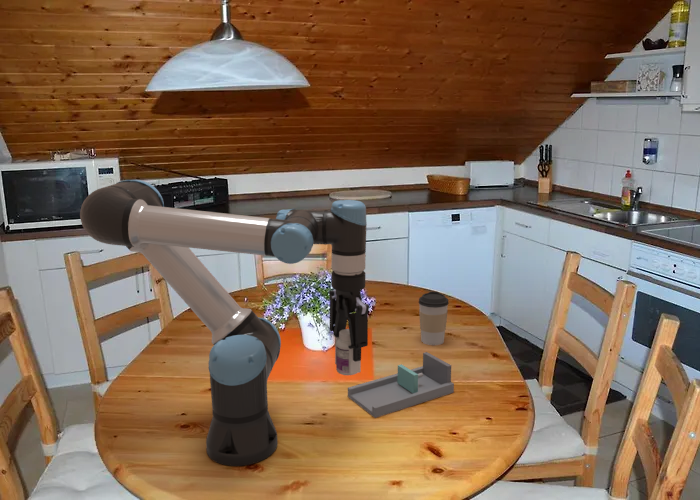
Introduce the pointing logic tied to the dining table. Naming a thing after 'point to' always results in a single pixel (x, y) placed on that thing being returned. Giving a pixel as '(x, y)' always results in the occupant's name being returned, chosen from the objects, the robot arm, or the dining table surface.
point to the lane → (393, 397)
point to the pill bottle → (343, 352)
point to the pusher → (408, 378)
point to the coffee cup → (433, 317)
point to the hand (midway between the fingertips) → (347, 367)
